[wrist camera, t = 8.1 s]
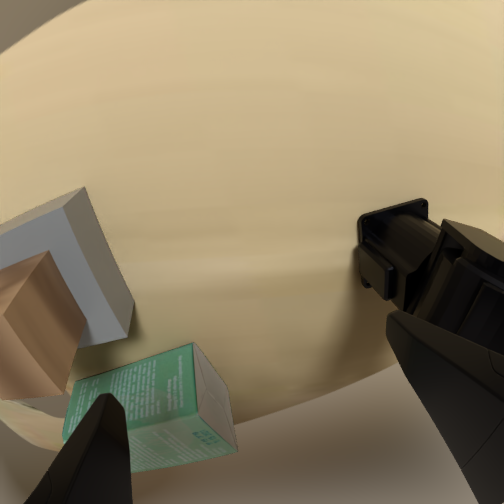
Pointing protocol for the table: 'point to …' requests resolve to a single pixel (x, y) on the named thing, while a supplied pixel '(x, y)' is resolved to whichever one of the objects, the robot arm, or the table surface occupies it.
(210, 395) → the box
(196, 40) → the table surface
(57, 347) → the block
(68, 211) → the base
